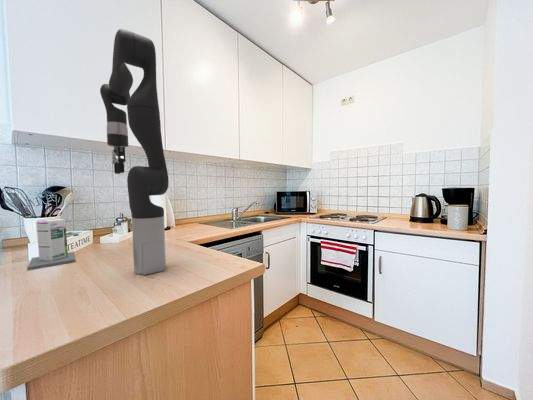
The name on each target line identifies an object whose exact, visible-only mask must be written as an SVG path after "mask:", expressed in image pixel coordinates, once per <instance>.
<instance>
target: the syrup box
mask: <svg viewBox="0 0 533 400" xmlns="http://www.w3.org/2000/svg"><path fill="white" fill-rule="evenodd" d="M35 223H36V224H35V225H36V235H37V237H36V238H37V246H38V247H37V248H38V257H39V260H43V261H53V260H56V259H59V258H63V257H67V256H68V240H67V239H68V237H67V224H66V219H65V218H61V217H60V218H50V219H41V220H36V222H35Z"/></svg>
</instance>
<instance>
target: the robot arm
mask: <svg viewBox="0 0 533 400" xmlns="http://www.w3.org/2000/svg"><path fill="white" fill-rule="evenodd" d="M154 43H155V42H153V40H151V39H150V38H149V37H146V36H143V35H141V34H139V33H136V32H132V31H131V30H128V29H123V28H120V29H118V30H117V31H116V33H115V35H114V39H113V49H112V50H113V52H112V64H111V65H112V69H111V74H110V77H109V81H108V83H104V84H102V85H101V86H100V89H99V93H100V96H101V99H102V102H103V105H104V108H105V111H106V112H105V113H106V143H107V146H109V147H113V149H112V150H111V153H112V164H113V169H114V174H116V175H117V174H118V175H119V174H123V173H124V174H125V163H126V160H127V159H126V148H128V147H129V132H128V131H129V130H128V127H129V128H130V130H131V133H132V134H133V136H134V137H135V139H136V140H137V142H138V143H139V144H140V147H141V148H142V149H143V151H144V153H145V156H146V160H147V164H148V166H142V165H135V166H132V167H131V168H130V169H129V171H128V173H127V179H126V183H127V184H126V186H127V193H128V204H129V209H130V213H131V228H132V231H131V233H132V250H133V251H132V253H133V257H132V258H133V270H134V271H133V272H134V273H135V274H137V275H143V276H145V275H151V274H155V273H159V272H163V271H165V270H166V267H167V261H166V236H165V235H166V234H165V231H166V230H165V210H164V207H162V206H160V205H156V204H154V203H153V202H152V201H151V198H150V196H162V195H164V194H166V192H167V190H168V188H169V174H168V169H167V164H166V163H167V162H166V158H165V157H166V156H165V154H164V147H163V138H162V129H161V128H162V126H161V113H160V106H159V105H160V104H159V98H158V88H157V87H158V86H157V85H158V84H157V56H156V55H157V54H156V53H157V52H156V46H155V44H154ZM127 65H130V66H133V67H136V68H140V69H142V70H143V76H142V80H141V82H140V83H139V84H138V86H137V88H136V89H135V90H134V92H133V93H132V94H130V93H131V92H130V91H131V88H133V87H132V86H133V83H134V78H133V74H132V72H131V71H130V68H129V67H128V66H127ZM114 104H115V105H119V106H126V111H127V112H126V111H125V110H123V109H120V108H118V107H116V106H115V105H114ZM127 121H128V122H127ZM127 123H128V124H127Z"/></svg>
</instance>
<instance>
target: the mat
mask: <svg viewBox="0 0 533 400" xmlns="http://www.w3.org/2000/svg"><path fill="white" fill-rule="evenodd" d="M72 263H76V255H75V251H69V253H68V256H67V257H63V258H59V259H56V260H53V261H43V260H39V256H36V257H31V260H30V262H29V264H28V265H27V271H31V270H32V271H33V270H38V269H43V268H44V269H45V268H50V267H55V266H61V265H62V266H63V265H67V264H72Z"/></svg>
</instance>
